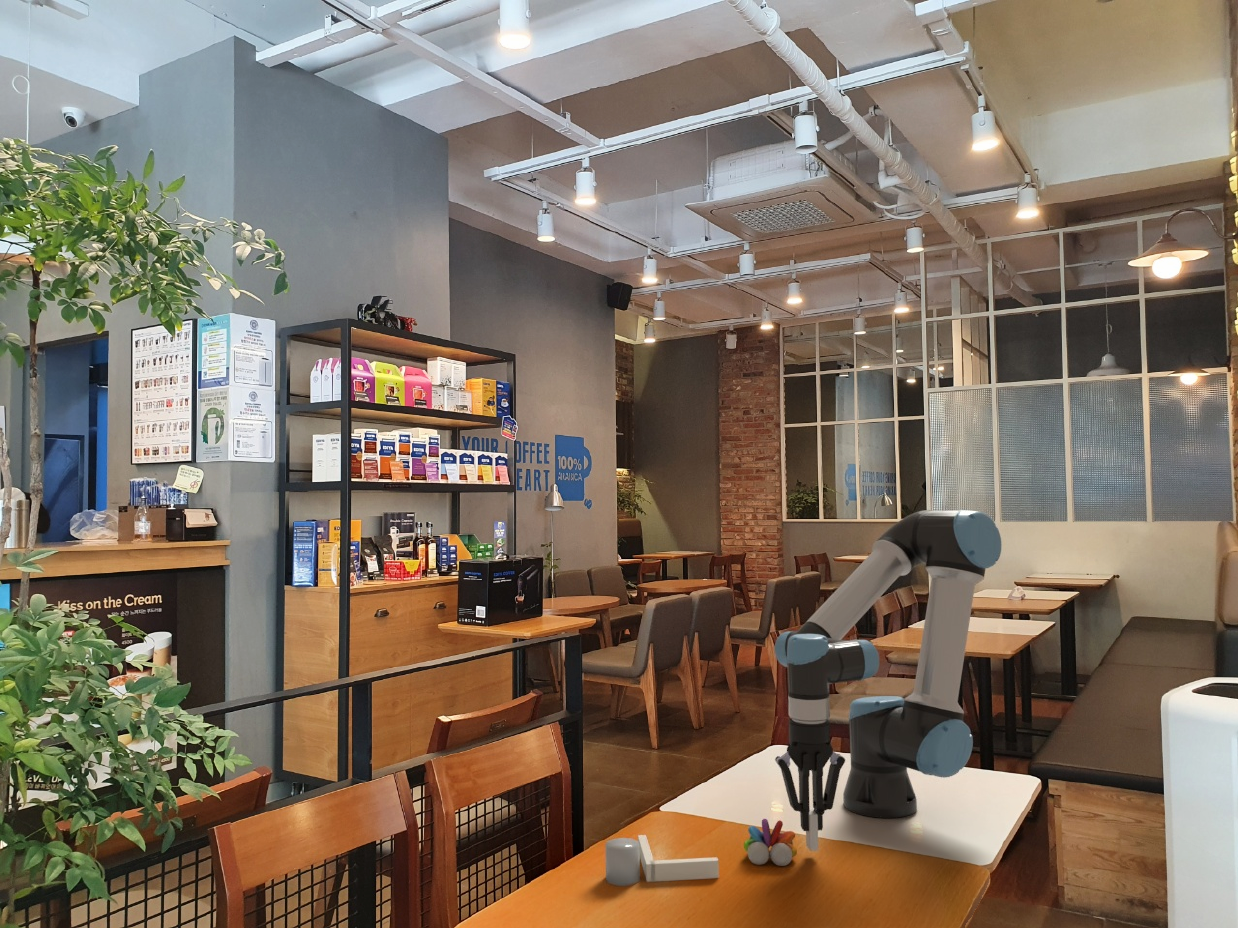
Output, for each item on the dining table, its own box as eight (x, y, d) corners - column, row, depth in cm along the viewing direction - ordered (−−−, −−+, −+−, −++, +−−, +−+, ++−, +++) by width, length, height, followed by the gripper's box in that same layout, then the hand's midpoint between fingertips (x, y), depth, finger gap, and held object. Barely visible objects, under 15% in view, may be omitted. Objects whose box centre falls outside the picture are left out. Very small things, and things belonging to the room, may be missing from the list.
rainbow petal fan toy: (797, 870, 164) (796, 828, 164) (742, 866, 166) (741, 826, 166) (797, 852, 172) (796, 812, 172) (745, 849, 174) (744, 810, 174)
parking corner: (704, 847, 175) (704, 831, 175) (718, 877, 161) (718, 860, 161) (638, 851, 174) (637, 835, 174) (646, 881, 160) (646, 864, 160)
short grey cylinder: (638, 870, 164) (637, 836, 165) (641, 884, 158) (641, 849, 159) (604, 872, 164) (604, 838, 164) (607, 886, 158) (606, 851, 158)
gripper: (836, 713, 175) (839, 838, 174) (769, 715, 173) (772, 841, 172) (850, 722, 167) (853, 853, 166) (780, 725, 166) (783, 857, 165)
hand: (812, 847), depth 169 cm, fingers closed
